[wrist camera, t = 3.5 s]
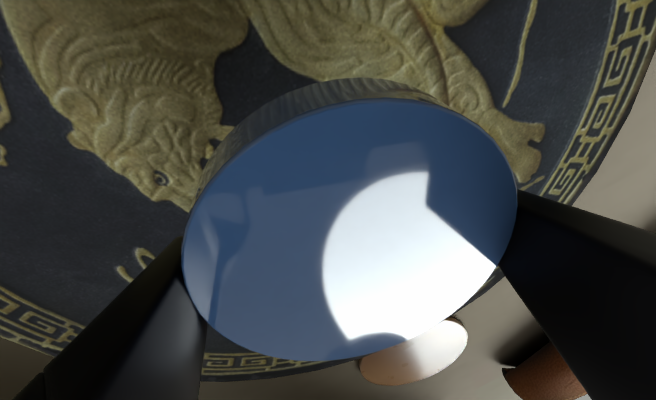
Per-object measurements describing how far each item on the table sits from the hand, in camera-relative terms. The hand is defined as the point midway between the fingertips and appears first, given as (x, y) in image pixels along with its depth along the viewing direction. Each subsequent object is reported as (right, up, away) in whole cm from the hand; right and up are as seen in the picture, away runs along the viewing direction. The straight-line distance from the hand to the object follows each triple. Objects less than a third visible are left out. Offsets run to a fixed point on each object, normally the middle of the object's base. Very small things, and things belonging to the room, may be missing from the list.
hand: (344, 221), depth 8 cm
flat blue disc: (0, 0, +1) cm, 1 cm away
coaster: (+6, -11, +17) cm, 21 cm away
